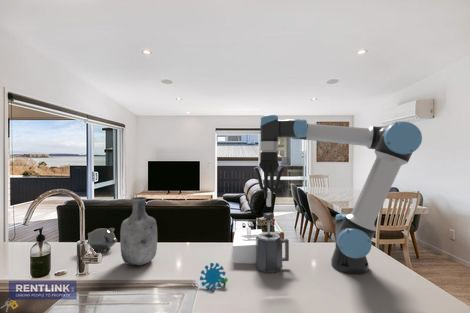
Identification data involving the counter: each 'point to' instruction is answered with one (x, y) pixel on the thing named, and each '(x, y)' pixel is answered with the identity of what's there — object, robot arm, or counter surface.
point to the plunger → (268, 217)
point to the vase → (138, 235)
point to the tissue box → (245, 245)
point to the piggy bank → (102, 239)
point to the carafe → (270, 252)
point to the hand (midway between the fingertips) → (268, 205)
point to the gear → (213, 276)
